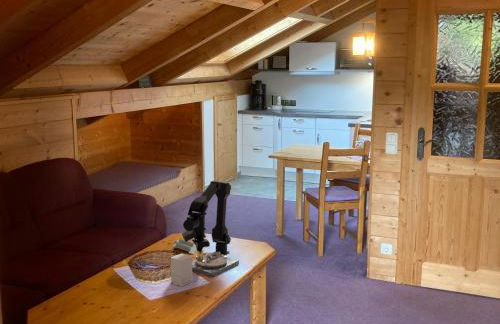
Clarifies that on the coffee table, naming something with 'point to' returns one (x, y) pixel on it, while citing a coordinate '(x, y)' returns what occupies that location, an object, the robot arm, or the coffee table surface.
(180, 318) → the coffee table surface
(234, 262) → the base plate
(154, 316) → the coffee table surface
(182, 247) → the metal bracket
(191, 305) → the coffee table surface
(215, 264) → the silver round platform
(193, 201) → the robot arm
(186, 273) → the supplement box
